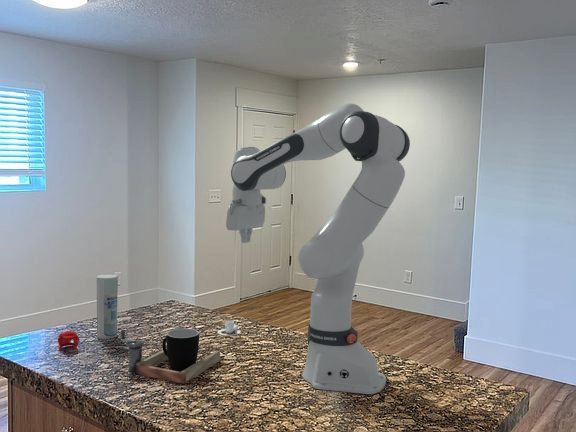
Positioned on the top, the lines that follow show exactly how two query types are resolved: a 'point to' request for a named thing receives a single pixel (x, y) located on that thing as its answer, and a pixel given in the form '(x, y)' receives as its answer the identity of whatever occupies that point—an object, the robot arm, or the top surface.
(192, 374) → the bay
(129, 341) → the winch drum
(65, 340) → the cap
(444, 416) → the top surface
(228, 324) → the teacup and saucer
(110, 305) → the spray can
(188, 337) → the mug
